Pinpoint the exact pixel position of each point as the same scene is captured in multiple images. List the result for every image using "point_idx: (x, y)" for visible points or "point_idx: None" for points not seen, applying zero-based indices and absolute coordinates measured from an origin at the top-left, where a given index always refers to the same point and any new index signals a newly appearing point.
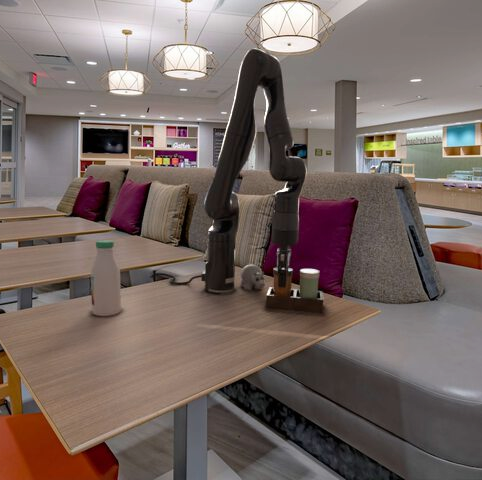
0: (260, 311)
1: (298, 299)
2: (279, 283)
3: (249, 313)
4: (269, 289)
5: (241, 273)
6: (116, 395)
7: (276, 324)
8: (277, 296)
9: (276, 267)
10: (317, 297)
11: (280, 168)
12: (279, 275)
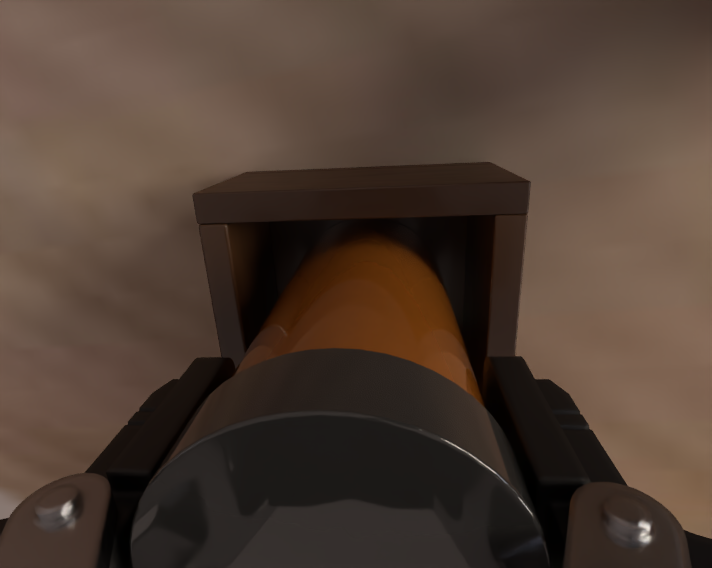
0: (210, 130)
1: None
2: (147, 400)
3: (121, 42)
4: (429, 195)
5: None
6: None
7: (14, 282)
8: (213, 306)
9: (444, 465)
10: None
11: None
12: (122, 473)
